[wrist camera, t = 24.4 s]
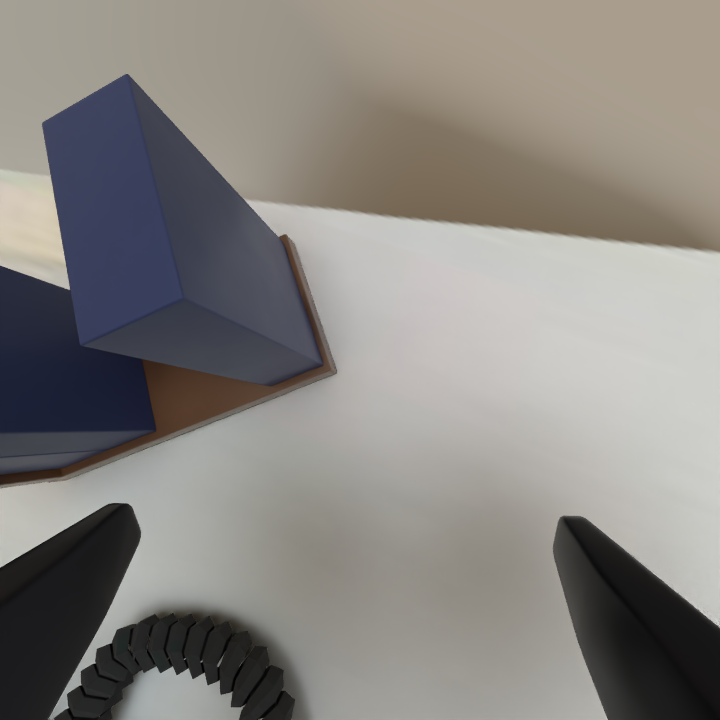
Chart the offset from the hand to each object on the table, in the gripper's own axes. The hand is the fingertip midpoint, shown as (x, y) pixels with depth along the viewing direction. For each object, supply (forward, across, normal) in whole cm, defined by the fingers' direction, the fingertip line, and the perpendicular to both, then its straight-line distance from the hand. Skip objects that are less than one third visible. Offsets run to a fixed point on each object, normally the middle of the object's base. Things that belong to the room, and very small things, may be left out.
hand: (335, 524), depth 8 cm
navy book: (+14, +5, 0) cm, 15 cm away
